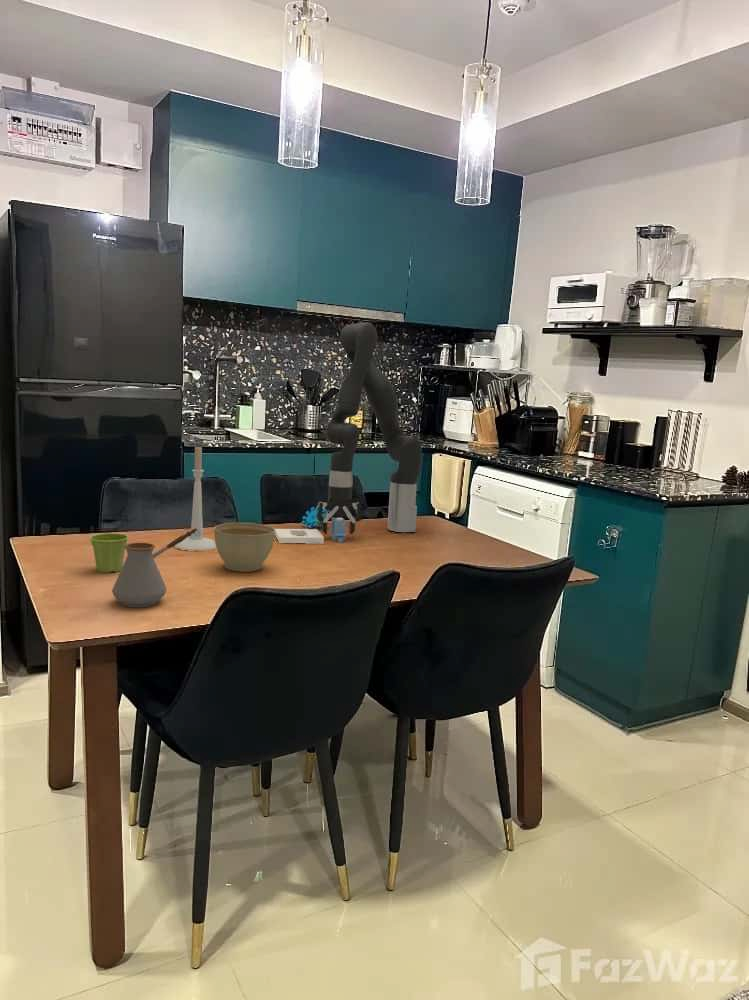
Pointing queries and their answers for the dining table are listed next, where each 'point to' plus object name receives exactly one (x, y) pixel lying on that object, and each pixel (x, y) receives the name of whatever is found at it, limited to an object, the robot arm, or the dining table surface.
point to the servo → (338, 529)
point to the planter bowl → (243, 545)
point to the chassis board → (291, 536)
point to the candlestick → (197, 512)
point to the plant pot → (109, 551)
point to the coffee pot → (142, 575)
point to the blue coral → (313, 517)
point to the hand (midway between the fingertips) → (338, 533)
